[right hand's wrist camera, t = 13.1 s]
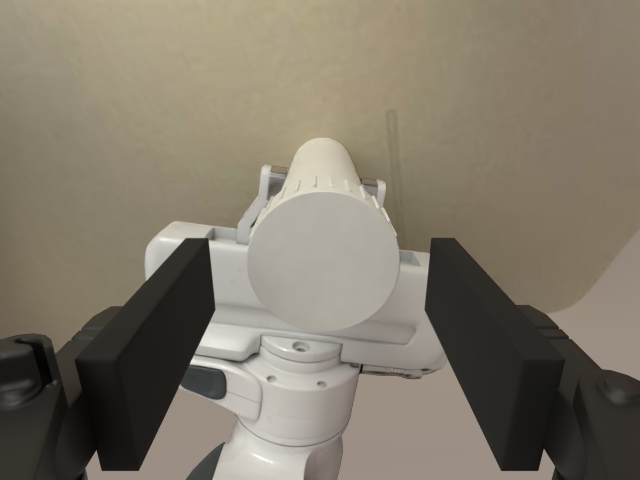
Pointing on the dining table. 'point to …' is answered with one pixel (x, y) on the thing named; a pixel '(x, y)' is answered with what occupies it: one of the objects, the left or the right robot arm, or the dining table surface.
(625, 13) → the dining table surface
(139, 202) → the dining table surface
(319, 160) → the white tall cylinder
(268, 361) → the left robot arm
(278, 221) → the lid
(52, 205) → the dining table surface
